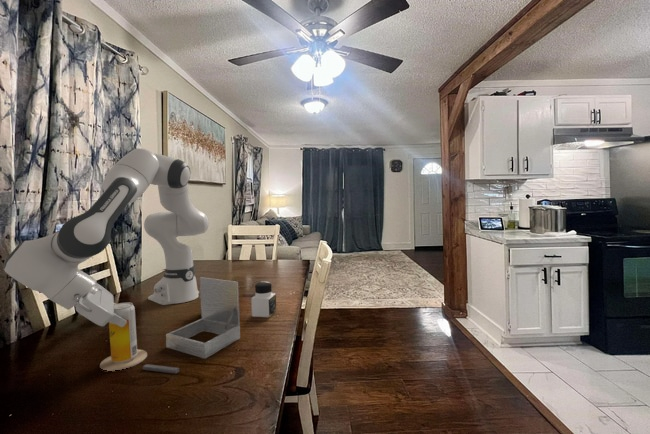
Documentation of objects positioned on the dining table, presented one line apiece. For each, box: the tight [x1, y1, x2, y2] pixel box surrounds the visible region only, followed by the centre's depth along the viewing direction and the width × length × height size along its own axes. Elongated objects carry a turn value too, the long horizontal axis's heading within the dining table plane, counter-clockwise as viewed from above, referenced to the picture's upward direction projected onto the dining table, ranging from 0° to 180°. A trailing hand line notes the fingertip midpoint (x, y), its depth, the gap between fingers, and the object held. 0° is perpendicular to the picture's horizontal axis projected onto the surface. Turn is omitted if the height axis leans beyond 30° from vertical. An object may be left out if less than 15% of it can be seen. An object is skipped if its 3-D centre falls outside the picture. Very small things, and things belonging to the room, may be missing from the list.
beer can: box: [108, 302, 138, 364], centre depth 86 cm, size 6×6×15 cm
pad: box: [99, 348, 148, 372], centre depth 86 cm, size 11×11×1 cm
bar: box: [142, 363, 180, 375], centre depth 81 cm, size 10×1×1 cm, turn 77°
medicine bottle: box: [250, 281, 277, 318], centre depth 119 cm, size 7×7×12 cm
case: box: [165, 276, 241, 359], centre depth 96 cm, size 16×14×18 cm
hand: (124, 319), depth 86 cm, fingers open, 7 cm apart
